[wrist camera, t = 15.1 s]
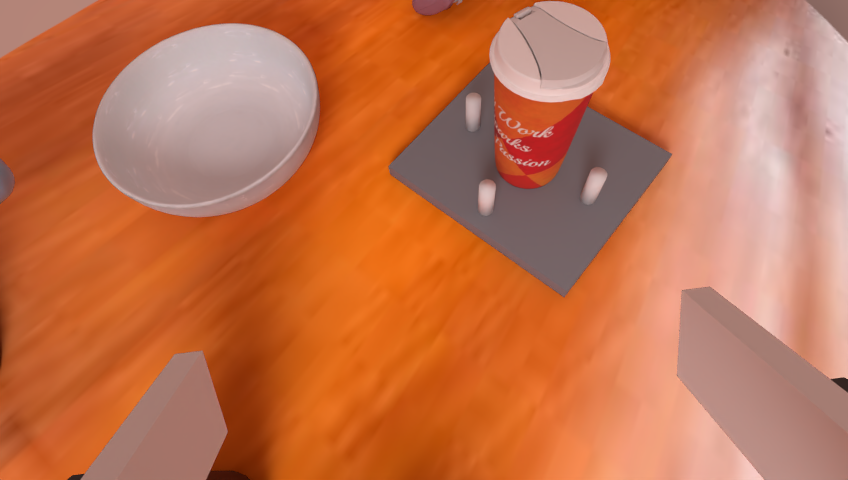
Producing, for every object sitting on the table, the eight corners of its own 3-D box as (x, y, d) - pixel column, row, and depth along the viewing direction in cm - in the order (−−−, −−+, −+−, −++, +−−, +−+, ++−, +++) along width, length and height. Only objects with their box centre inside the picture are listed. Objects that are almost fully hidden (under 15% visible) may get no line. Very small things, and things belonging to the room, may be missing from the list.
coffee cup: (465, 152, 49) (466, 29, 36) (535, 111, 51) (562, -22, 37) (518, 217, 46) (542, 109, 32) (592, 172, 47) (644, 50, 34)
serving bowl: (355, 79, 56) (342, 29, 50) (301, 256, 48) (276, 223, 41) (180, 60, 59) (146, 11, 53) (100, 224, 51) (48, 189, 44)
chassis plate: (390, 174, 51) (382, 141, 46) (495, 65, 55) (498, 25, 50) (564, 297, 44) (577, 274, 39) (666, 163, 49) (689, 127, 44)
